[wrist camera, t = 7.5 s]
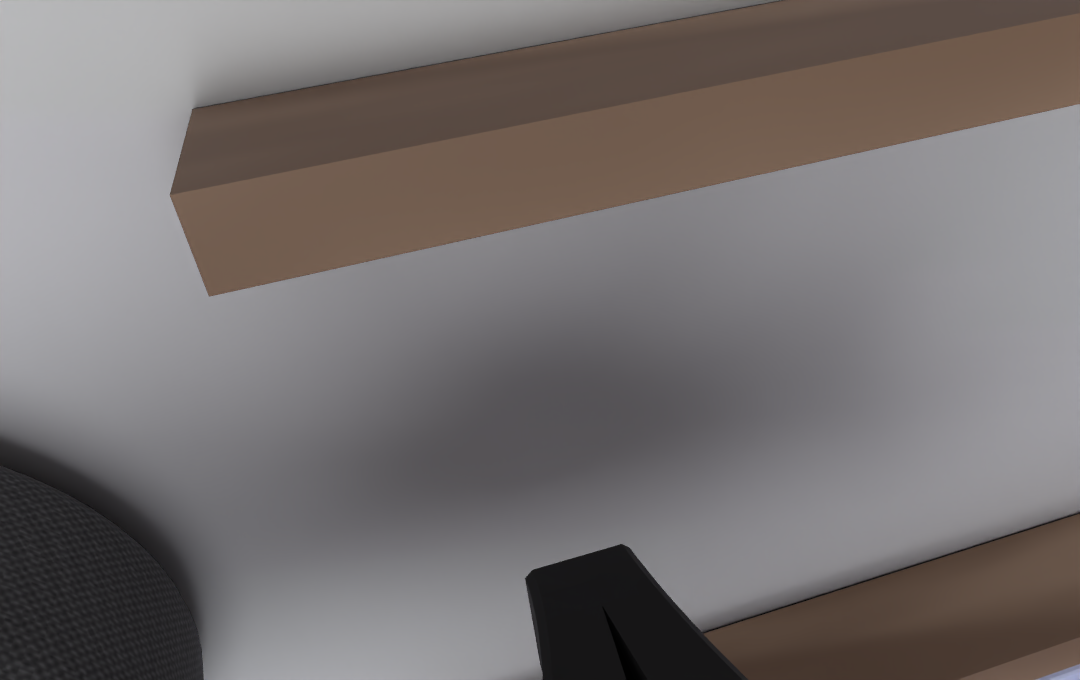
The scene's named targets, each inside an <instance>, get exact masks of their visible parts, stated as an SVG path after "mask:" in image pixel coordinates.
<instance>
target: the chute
mask: <svg viewBox="0 0 1080 680" xmlns="http://www.w3.org/2000/svg"><path fill="white" fill-rule="evenodd" d="M1076 104H1080V0H784V1H778V2H773V3H767V4H762V5H756V6H751V7H746V8H740V9H735V10H729V11H724V12H718V13H713V14H708V15H702V16H697V17H691V18H686V19H680V20H675V21H670V22H664V23H659V24H653V25H648V26H642V27H637V28H632V29H626V30H621V31H615V32H610V33H604V34H599V35H594V36H588V37H583V38H577V39H572V40H566V41H561V42H555V43H550V44H545V45H539V46H534V47H528V48H523V49H517V50H512V51H507V52H501V53H496V54H490V55H485V56H479V57H474V58H469V59H463V60H458V61H452V62H447V63H441V64H436V65H431V66H425V67H420V68H414V69H409V70H403V71H398V72H393V73H387V74H382V75H376V76H371V77H365V78H360V79H354V80H349V81H344V82H338V83H333V84H327V85H322V86H316V87H311V88H306V89H300V90H295V91H289V92H284V93H278V94H273V95H268V96H262V97H257V98H251V99H246V100H240V101H235V102H230V103H224V104H219V105H213V106H208V107H202V108H197V109H192V113H191V117H190V121H189V124H188V128H187V132H186V136H185V140H184V143H183V147H182V151H181V155H180V158H179V162H178V166H177V170H176V174H175V177H174V181H173V185H172V189H171V192H170V197H171V199H172V202H173V205H174V207H175V210H176V212H177V215H178V217H179V220H180V223H181V225H182V228H183V230H184V233H185V236H186V238H187V241H188V243H189V246H190V248H191V251H192V254H193V256H194V259H195V261H196V264H197V266H198V269H199V272H200V274H201V277H202V279H203V282H204V285H205V287H206V290H207V292H208V295H209V296H214V295H218V294H223V293H227V292H232V291H236V290H241V289H245V288H250V287H254V286H259V285H264V284H268V283H273V282H277V281H282V280H286V279H291V278H295V277H300V276H304V275H309V274H313V273H318V272H322V271H327V270H331V269H336V268H340V267H345V266H349V265H354V264H358V263H363V262H367V261H372V260H376V259H381V258H385V257H390V256H394V255H399V254H403V253H408V252H413V251H417V250H422V249H426V248H431V247H435V246H440V245H444V244H449V243H453V242H458V241H462V240H467V239H471V238H476V237H480V236H485V235H489V234H494V233H498V232H503V231H507V230H512V229H516V228H521V227H525V226H530V225H534V224H539V223H543V222H548V221H553V220H557V219H562V218H566V217H571V216H575V215H580V214H584V213H589V212H593V211H598V210H602V209H607V208H611V207H616V206H620V205H625V204H629V203H634V202H638V201H643V200H647V199H652V198H656V197H661V196H665V195H670V194H674V193H679V192H683V191H688V190H692V189H697V188H702V187H706V186H711V185H715V184H720V183H724V182H729V181H733V180H738V179H742V178H747V177H751V176H756V175H760V174H765V173H769V172H774V171H778V170H783V169H787V168H792V167H796V166H801V165H805V164H810V163H814V162H819V161H823V160H828V159H832V158H837V157H842V156H846V155H851V154H855V153H860V152H864V151H869V150H873V149H878V148H882V147H887V146H891V145H896V144H900V143H905V142H909V141H914V140H918V139H923V138H927V137H932V136H936V135H941V134H945V133H950V132H954V131H959V130H963V129H968V128H972V127H977V126H981V125H986V124H991V123H995V122H1000V121H1004V120H1009V119H1013V118H1018V117H1022V116H1027V115H1031V114H1036V113H1040V112H1045V111H1049V110H1054V109H1058V108H1063V107H1067V106H1072V105H1076ZM703 634H704V635H705V636H706V637H707V639H708V640H709V641H710V642H711V643H712V644H713V645H714V646H715V647H716V648H717V649H718V650H719V651H720V652H721V653H722V654H723V655H724V656H725V657H726V658H727V659H728V660H729V661H730V662H731V663H732V664H733V665H734V666H735V667H736V668H737V669H738V670H739V671H740V672H741V673H742V674H743V675H744V676H745V677H746V678H747V679H748V680H1036V679H1039V678H1042V677H1044V676H1047V675H1050V674H1053V673H1056V672H1058V671H1061V670H1064V669H1067V668H1070V667H1073V666H1075V665H1078V664H1080V514H1077V515H1074V516H1071V517H1068V518H1064V519H1061V520H1058V521H1055V522H1052V523H1049V524H1046V525H1042V526H1039V527H1036V528H1033V529H1030V530H1027V531H1024V532H1021V533H1017V534H1014V535H1011V536H1008V537H1005V538H1002V539H999V540H995V541H992V542H989V543H986V544H983V545H980V546H977V547H973V548H970V549H967V550H964V551H961V552H958V553H955V554H951V555H948V556H945V557H942V558H939V559H936V560H933V561H929V562H926V563H923V564H920V565H917V566H914V567H911V568H908V569H904V570H901V571H898V572H895V573H892V574H889V575H886V576H882V577H879V578H876V579H873V580H870V581H867V582H864V583H860V584H857V585H854V586H851V587H848V588H845V589H842V590H838V591H835V592H832V593H829V594H826V595H823V596H820V597H816V598H813V599H810V600H807V601H804V602H801V603H798V604H795V605H791V606H788V607H785V608H782V609H779V610H776V611H773V612H769V613H766V614H763V615H760V616H757V617H754V618H751V619H747V620H744V621H741V622H738V623H735V624H732V625H729V626H725V627H722V628H719V629H716V630H713V631H710V632H707V633H703Z"/></svg>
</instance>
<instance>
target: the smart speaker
mask: <svg viewBox="0 0 1080 680" xmlns="http://www.w3.org/2000/svg"><path fill="white" fill-rule="evenodd" d="M0 680H204V678H203V662H202V649H201V645H200V641H199V636H198V632H197V629H196V626H195V624H194V621H193V619H192V616H191V614H190V611H189V609H188V607H187V606H186V604H185V602H184V600H183V599H182V597H181V595H180V593H179V592H178V590H177V588H176V587H175V585H174V583H173V582H172V580H171V579H170V578H169V576H168V575H167V574H166V573H165V571H164V570H163V569H162V567H161V566H160V565H159V563H158V562H157V561H156V560H155V559H154V558H153V557H152V556H151V555H150V554H149V553H148V552H147V551H146V550H145V549H144V548H143V547H142V546H141V545H140V544H139V543H137V542H136V541H135V540H134V539H132V538H131V537H130V536H129V535H128V534H126V533H125V532H124V531H123V530H122V529H120V528H119V527H118V526H117V525H115V524H114V523H113V522H111V521H110V520H108V519H107V518H105V517H104V516H102V515H101V514H99V513H98V512H96V511H95V510H93V509H92V508H90V507H89V506H87V505H85V504H84V503H82V502H80V501H78V500H76V499H75V498H73V497H71V496H69V495H67V494H66V493H64V492H62V491H60V490H58V489H56V488H53V487H51V486H49V485H47V484H45V483H42V482H40V481H38V480H36V479H34V478H32V477H29V476H27V475H24V474H21V473H18V472H16V471H13V470H10V469H8V468H5V467H2V466H0Z"/></svg>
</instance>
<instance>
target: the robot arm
mask: <svg viewBox="0 0 1080 680" xmlns="http://www.w3.org/2000/svg"><path fill="white" fill-rule="evenodd" d="M525 580H526V586H527V591H528V597H529V603H530V608H531V614H532V620H533V625H534V631H535V637H536V642H537V648H538V654H539V659H540V665H541V668H542V672H543V680H748V679H747V678H746V677H745V676H744V675H743V674H742V673H741V672H740V671H739V670H738V669H737V668H736V667H735V666H734V665H733V664H732V663H731V662H730V661H729V660H728V659H727V658H726V657H725V656H724V655H723V654H722V653H721V652H720V651H719V650H718V649H717V648H716V647H715V646H714V645H713V644H712V643H711V642H710V641H709V640H708V639H707V637H706V636H705V635H704V634H703V633H702V632H701V631H700V630H699V629H698V628H697V627H696V626H695V625H694V624H693V623H692V621H691V620H690V619H689V618H688V617H687V616H686V615H685V614H684V613H683V611H682V610H681V609H680V608H679V607H678V606H677V605H676V604H675V603H674V602H673V600H672V599H671V598H670V597H669V596H668V595H667V593H666V592H665V591H664V590H663V589H662V588H661V587H660V585H659V584H658V583H657V582H656V581H655V579H654V578H653V577H652V576H651V574H650V573H649V572H648V571H647V569H646V568H645V567H644V566H643V564H642V563H641V562H640V561H639V559H638V558H637V557H636V555H635V554H634V553H633V551H632V550H631V549H630V548H629V547H627V546H625V545H623V544H620V545H617V546H614V547H610V548H607V549H603V550H600V551H596V552H593V553H589V554H586V555H582V556H579V557H576V558H572V559H569V560H565V561H562V562H558V563H555V564H551V565H548V566H544V567H541V568H538V569H534V570H532V571H531V572H530V574H529V575H528V576H527V577H526V578H525ZM1036 680H1080V664H1078V665H1075V666H1073V667H1070V668H1067V669H1064V670H1061V671H1058V672H1056V673H1053V674H1050V675H1047V676H1044V677H1042V678H1039V679H1036Z"/></svg>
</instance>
